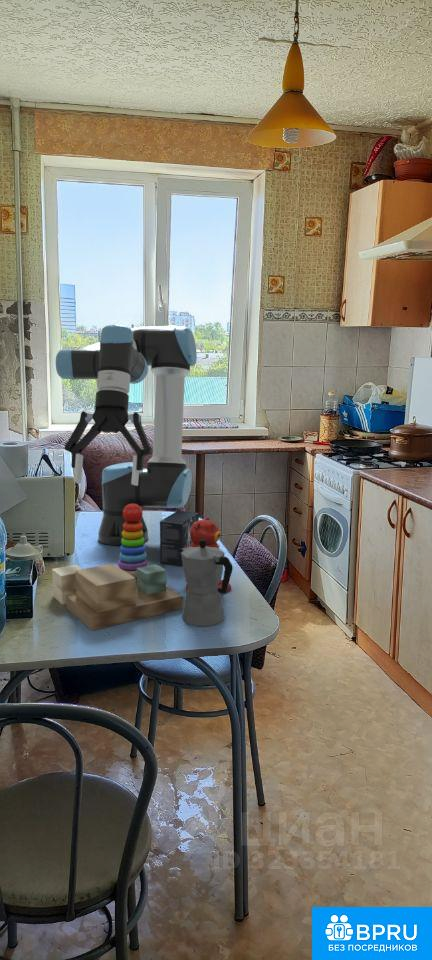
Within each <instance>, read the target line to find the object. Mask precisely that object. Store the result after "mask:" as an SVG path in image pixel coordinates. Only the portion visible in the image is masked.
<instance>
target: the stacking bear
mask: <svg viewBox="0 0 432 960" xmlns="http://www.w3.org/2000/svg"><path fill="white" fill-rule="evenodd" d="M190 537H191V540H192V543H191V544H190V546H189V547H200V544H199V540H200V539H205V540H206V546H205V547H213V548H219V549H220V545H219V544H218V543H217V542H218V541H219V539H220V538H221V531H220V529H219V528H218V526H217V524H215V523H214V522H213V521H212V520H210V518H209V517H205V518H204V519H199V521H196V522H194V523H193V524H192V526H191V528H190ZM220 550H221V549H220ZM223 572H224V566H223V567H222V574H221V578H222V576H223ZM222 581H223V579H221V581H220V582H219V583H218V588H220V589H222ZM184 590H185V592H186V591H187V590H188V584H187V583H186V585H185V589H184ZM231 590H232V585H231V583H230V582H229V584H228V587H227V591H226V593H227V592H229V591H231Z"/></svg>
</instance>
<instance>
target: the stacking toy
mask: <svg viewBox="0 0 432 960" xmlns="http://www.w3.org/2000/svg"><path fill="white" fill-rule="evenodd" d="M142 515H144V514H143V508H142V509H141V507H140V506H139V505H137V504H128V505H127V506H125V508H124V509H123V517H124V519H125V520H126V521H127V522H125V523H124V524H123V529H124V530H123V531H122V536H123V538H122V540H121V543H122V545H120V548H119V549H120V550H119V551H120V553H119V555H118V557H119V560H118V562H117V565H118V566H117V567H119V568H120V569H122V570H123V571H125V572H127V573H128V574H130V575H131V576H133V577H135V579H137V568H139V567H144V566H148V561H147V559H146V558H147V556H148V555H147V553H146V546H145V542H146V541H145V540H144V538H143V537H142V536H143V531H142V530H141V529H142V527H143V525H142V523H141V522H139V520H140V519H141V518H142Z"/></svg>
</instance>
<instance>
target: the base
mask: <svg viewBox="0 0 432 960" xmlns="http://www.w3.org/2000/svg"><path fill="white" fill-rule="evenodd" d="M75 572H76V593H75V594H70V595H66V604H65V605H66V609H67V611H70V612H71V614H73V615H74V616H75V617H76V618H77V619H79V620H80V621H81V622H82V623H83V624H85V626H86V627H88V628H89V629H90V630H91V631H96V630H101V629H105V628H109V627H113V626H117V625H120V624H125V623H129V622H132V621H133V622H134V621H137V619H138V620H140V619H141V618H142V619H146V618H150V617H153V616H157V615H161V614H166V613H170V612H174V611H178V610H181V609H182V610H183V609H184V595H182V594H181V593H179V592H177V591H176V590H174V589H173V588H171V587H169V586H168V585H167V570H166V569H165V568H163V567H161V566H159V565H158V564H156V563H155V564H151V565H150V564H149V565H146V566H144V567H139V568H137V578H135V577H133V576H131V575H130V574H128V573H127V572H125V571H123V570H122V569H120V568H119V566H117V565H116V564H114V563H107V564H102V565H97V566H93V567H87V568H82V569H80V570H75ZM142 619H141V620H142ZM128 621H129V622H128Z"/></svg>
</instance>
